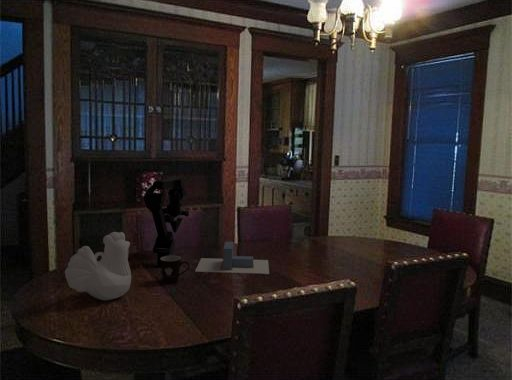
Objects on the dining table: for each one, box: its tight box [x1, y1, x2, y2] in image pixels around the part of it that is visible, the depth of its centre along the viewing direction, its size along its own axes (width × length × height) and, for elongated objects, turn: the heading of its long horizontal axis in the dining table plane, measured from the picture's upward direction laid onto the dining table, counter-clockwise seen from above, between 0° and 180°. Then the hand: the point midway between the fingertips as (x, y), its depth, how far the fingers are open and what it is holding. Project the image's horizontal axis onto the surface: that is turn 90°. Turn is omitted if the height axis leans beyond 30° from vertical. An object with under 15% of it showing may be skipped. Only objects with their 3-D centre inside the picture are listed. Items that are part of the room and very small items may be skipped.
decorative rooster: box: [64, 231, 132, 301], centre depth 159 cm, size 25×16×25 cm, turn 127°
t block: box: [222, 241, 254, 270], centre depth 205 cm, size 14×14×10 cm
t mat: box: [194, 257, 270, 275], centre depth 205 cm, size 34×22×1 cm, turn 90°
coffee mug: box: [160, 255, 190, 285], centre depth 180 cm, size 12×9×10 cm
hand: (174, 232), depth 217 cm, fingers closed
